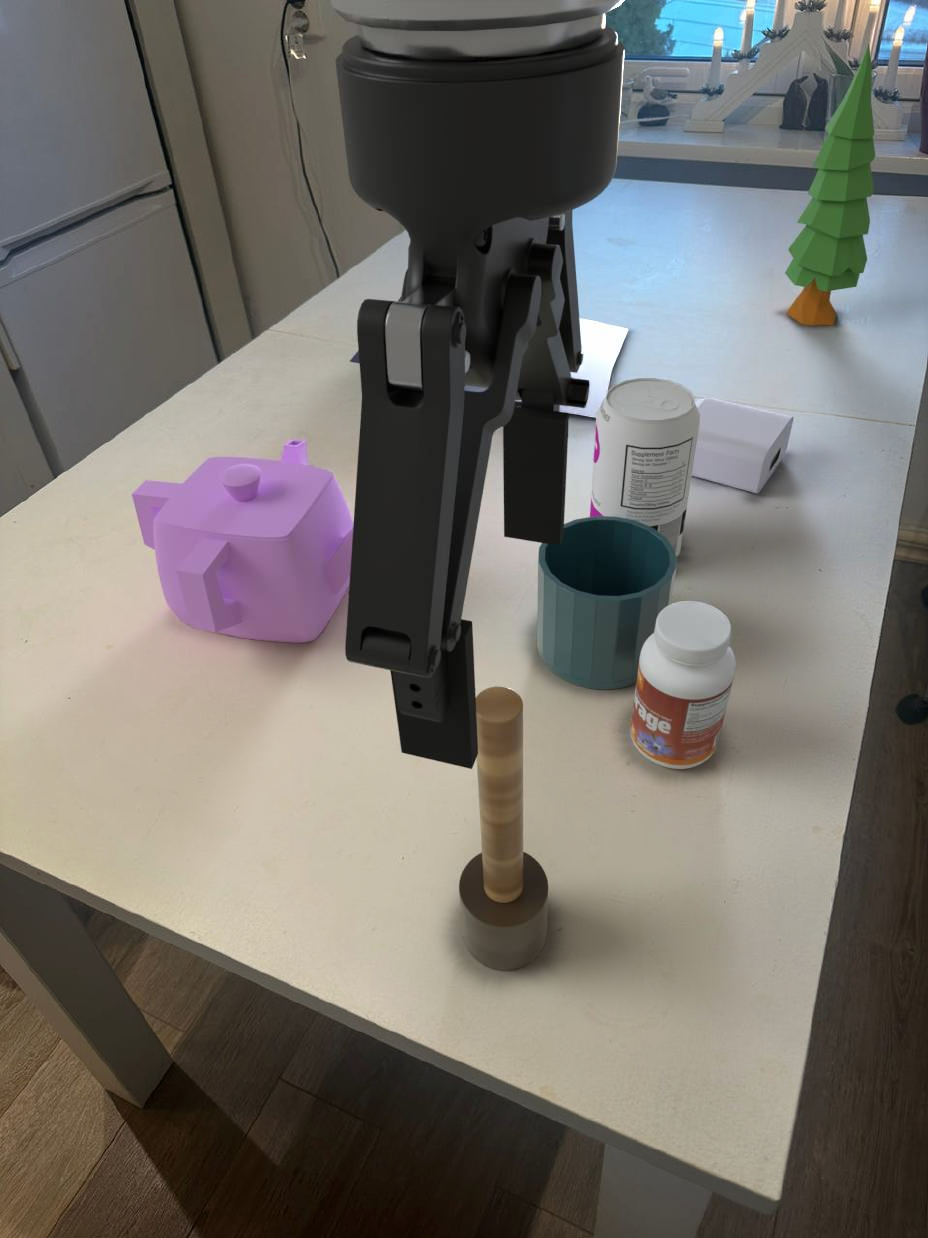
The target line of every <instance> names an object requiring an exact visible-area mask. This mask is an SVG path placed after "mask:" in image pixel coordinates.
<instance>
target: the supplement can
mask: <svg viewBox="0 0 928 1238" xmlns="http://www.w3.org/2000/svg"><path fill="white" fill-rule="evenodd" d="M695 402H696V397H695V396H694V393H693V392H692V390H690V389H689V388H687V387H686V386H684V385H683V384H681V383H678V382H674V381H672V380H670V379H664V378H657V377H638V378H637V377H635V378H631V379H625V380H622V381H621V382H618V383H616V384H613V385H612V386H611V387H610V388H608V391H607V394H606V397H605V398H604V400H603V401H602V403H601V404H600V406H599V408H598V411H597V415H596V418H595V427H594V445H593V459H592V460H593V461H592V474H591V475H592V477H591V490H590V491H591V492H590V508H589V517H593V516H615V517H620V518H625V519H630V520H635V521H638V522H640V523H642V524H645V525H647V526H650V527H652V528H654V529H655V530H657V531H658V532H659V533H661V534H662V535H663V536H664V537H666V538H667V539H668V541H669V542H670V544H671V545H672V547H673V548H674V550H675V552H676V558H677V557H678V556H679V555H680V553H681V549H682V548H681V547H682V541H683V535H684V529H685V523H686V515H687V510H688V509H687V508H688V503H689V495H690V489H691V482H692V477H693V476H692V470H693V464H694V457H695V451H696V444H697V437H698V431H699V424H700V416H701V415H700V413H699V411H698V408H697V406H696V404H695Z"/></svg>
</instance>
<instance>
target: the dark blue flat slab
mask: <svg viewBox="0 0 928 1238" xmlns="http://www.w3.org/2000/svg"><path fill="white" fill-rule="evenodd" d="M397 301H399V302H400V301H401V296H400V297H399V298H398V300H397ZM579 319H580V332H581V345H582V353H583V362H582V365H580V367H579V370H578V372H577V373H575V372H570V373H571V377H572V378H575V379H584V380H589V381H590V388H589V396H588V401H587V405H586V407H585V408H579V407H570V406H562V405H560V410H559V412H567V413H569V415H579V416H583V417H590V418H595V419H596V415H597V411H598V408H599V406H600V404H601V403H602V401H603V400H604V398H605V397H606V394H607V391H608V390H609V386H610V381H611V376H612V373H613V368H614V366H615V363H616V361H617V359H618V356H619V354H620V352H621V349H622V346H623V344H624V342H625V339H626V336H627V334H628V331H629V328H626V327H621V326H617V325H612V324H608V323H605V322H601V321H595V320H592V319H587V318H582V317H581V316H579ZM349 362H350V363H355V364H359V365H360V363H359V350H357V351H356V352H355V354H354V355H353V356H352V358H350V360H349ZM486 389H488V388H481V387H472V386H465V391H473V392H482V391H485V390H486ZM515 402H517V403H522V401H520V400H515Z"/></svg>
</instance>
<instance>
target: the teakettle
mask: <svg viewBox="0 0 928 1238" xmlns="http://www.w3.org/2000/svg"><path fill="white" fill-rule="evenodd" d="M307 447H308V446H307V440H306V439H295V438H291V439H290V440H288V441H287V442H286V443H284V444H283V450H282V454H281V458H280V460H276V459H268V458H257V457H256V458H255V457H241V456H212V457H208V458H207V459H206V460H205V461H203V463H202V464H200V465H199V466H198V467H197V468H196V469H195V470H194V471H193V472H192V473H191V474H190V475H189V476H188V478H186V480H184V482H183V483H179V482H170V481H169V482H168V481H160V480H159V481H158V480H150V479H145V480H144V481H143V482H142V483H141V484H140V485H139V486H138V487H137V488H136V489H135V490H134V491H133V492H132V493H131V498H132V501H133V505H134V509H135V513H136V517H137V521H138V525H139V529H140V533H141V536H142V540H143V544H144V545H145V546H147V547H148V548H150V549H152V550H154V553H155V562H156V566H157V567H156V568H157V573H158V577H159V582H160V587H161V590H162V594H163V596H164V599H165V603H166V604H167V606H168V608H170V610H171V611H172V613H173V614H174V615H175V617H177V619H179V620H180V621H181V622H182V623H183V624H185V625H188V626H190V629H195V630H200V631H205V632H211V633H216V634H217V633H218V634H221V635H225V636H230V637H235V638H241V639H249V640H257V641H265V642H266V641H267V642H276V643H277V642H278V643H295V644H299V643H300V644H301V643H302V644H303V643H310V642H313V641H315V640H316V639H317V638H319V636H320V635H321V634H322V632H323V630H324V629H325V628H326V626H327V625H328V623H329V621H330V620H331V619H332V617H333V615H334V613H335V612H336V610H337V609H338V607H339V605H340V603H341V602H342V600H343V598H344V596H345V595H346V593H347V591H348V590H349V584H350V569H351V554H352V539H353V524H354V518H353V516H352V514H351V511H350V508H349V505H348V503H347V500H346V498H345V496H344V494H343V492H342V489H341V487H340V484H339V482H338V480H337V478H336V476H335V474H334V473H333V472H332V471H330V470H328V469H326V468H322V467H318V466H314V465H313V466H312V465H309V461H308V448H307Z"/></svg>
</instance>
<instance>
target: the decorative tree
mask: <svg viewBox="0 0 928 1238" xmlns="http://www.w3.org/2000/svg"><path fill="white" fill-rule="evenodd" d="M872 72H873V68H872V59H871V49H870V43H868V44H867V47H866V49H865V51H864V54H863V56H862V59H861V62H860V64H859V67H858V69H857V71H856V72H855V75H854V77H853V79H852V81H851V83H850V85H849V87H848V89H847V90H846V92H845V95H844V97H843V99H842V101H841V102H840V104H839V105H838V107H837V109H836V110H835V112H834V114H833V115H832V116H831V118H830V120H829V121H828V123H827V124H826V126H825V127H824V130H825V131H826V132H827V134H826V136H825V139H824V141H823V143H822V145H821V148H820V150H819V152H818V154H817V156H816V158H815V160H814V162H813V164H812V167H814V168H816V169H818V170H817V172H816V175H815V176H814V178H813V181H812V183H811V185H810V188H809V189H808V192H807V194H808V195H809V196H811V199H810V200H809V202H808V204H807V205H806V207H805V209H804V210H803V212H802V214H801V215H800V217H799V218H798V219H797V221H796V223H797V224H802V225H805V227H803V229H802V230H801V231H800V233H799V234H798V235H797V236H796V238H795V239H794V241H793V242H792V243H791V244H790V246H789V247H788V248H787V250H788V252H789V254H790V255H791V257H792V259H791V261H790V263H789V265H788V266H787V268H786V270H785V271H784V274H785V276H787V278H788V279H789V280H790V282H791V283H792V284H793V285H794V286H797V287H802V288H803V289H802V290H801V292H800V293H799V294H798V296H797V297H796V298H795V300H794V301H793V302H792V304H791V306H789V308H788V309H787V310H786V312H785V315H787V316H789V317H790V318H791V319H793V320H795V321H796V322H798V323H800V324H801V325H805V326H812V327H813V326H834V325H835V322H836V318H837V312H836V310H835V307H834V306H833V304H832V302H831V300H830V299H831V294H832V292H833V291H839V290H845V289H852V288H857V286H858V283H859V279H860V276H861V274H864V272H865V269H866V266H867V265H866V264H867V262H868V255H867V249H866V245H865V239H864V235H868V234H869V231H870V225H871V218H870V212H869V211H870V210H869V205H868V198H871V197H872V196H873V193H874V191H875V186H874V179H873V171H872V167H871V163H872V162H873V161H874V160H875V158H876V157H877V156H876V149H875V142H874V135H875V125H874V117H873V115H874V114H873V108H872V107H873V106H872V76H873V75H872V74H873V73H872Z"/></svg>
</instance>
